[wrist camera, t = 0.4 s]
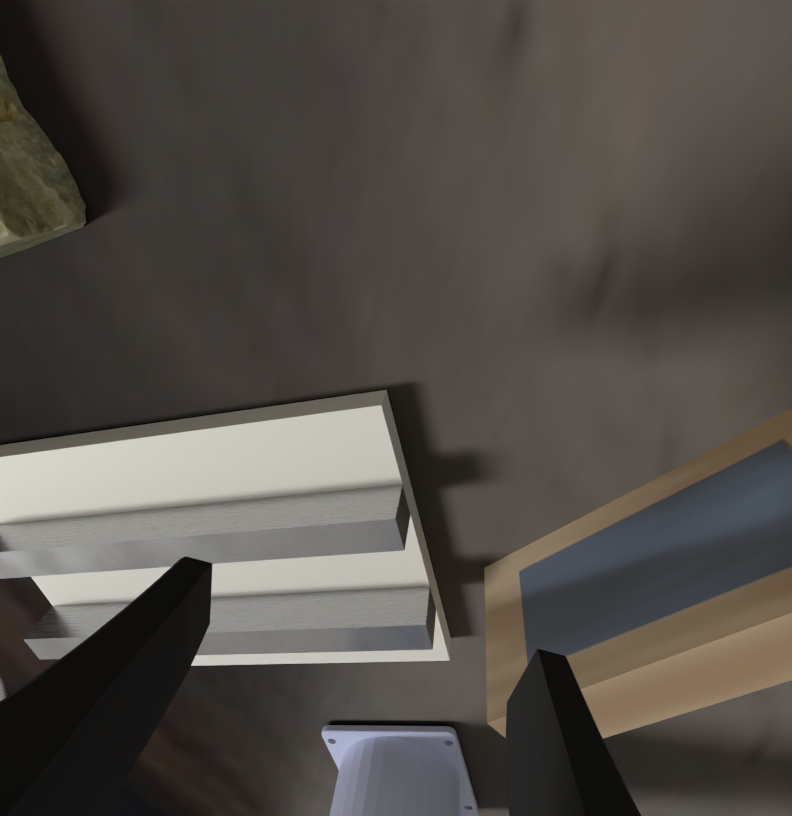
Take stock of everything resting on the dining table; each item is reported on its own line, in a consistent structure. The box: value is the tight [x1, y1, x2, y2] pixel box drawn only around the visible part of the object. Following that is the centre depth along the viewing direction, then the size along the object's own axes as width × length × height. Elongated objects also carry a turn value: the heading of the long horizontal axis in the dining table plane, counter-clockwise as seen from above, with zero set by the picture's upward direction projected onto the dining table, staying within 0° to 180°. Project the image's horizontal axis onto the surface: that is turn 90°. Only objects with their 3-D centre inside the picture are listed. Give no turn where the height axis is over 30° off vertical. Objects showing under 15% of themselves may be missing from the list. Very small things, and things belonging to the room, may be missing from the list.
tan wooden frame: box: [484, 408, 792, 738], centre depth 18 cm, size 3×14×7 cm, turn 133°
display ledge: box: [0, 390, 451, 666], centre depth 23 cm, size 14×20×3 cm
